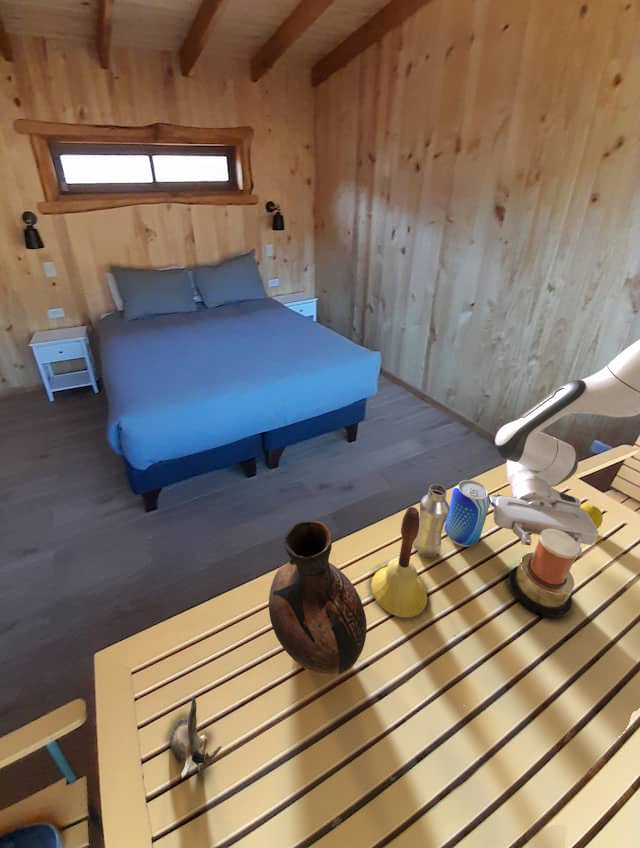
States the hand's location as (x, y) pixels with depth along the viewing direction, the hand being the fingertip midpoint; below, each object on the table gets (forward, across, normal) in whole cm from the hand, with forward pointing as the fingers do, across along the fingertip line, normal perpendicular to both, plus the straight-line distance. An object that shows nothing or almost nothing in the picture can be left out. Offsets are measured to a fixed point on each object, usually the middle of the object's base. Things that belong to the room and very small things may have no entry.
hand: (551, 548), depth 86 cm
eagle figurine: (+48, -62, +12) cm, 79 cm away
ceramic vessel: (+26, -46, +12) cm, 54 cm away
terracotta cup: (+2, 0, +5) cm, 5 cm away
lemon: (-21, +16, +13) cm, 29 cm away
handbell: (+10, -30, +13) cm, 34 cm away
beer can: (-10, -15, +13) cm, 22 cm away
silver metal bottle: (-3, -24, +13) cm, 27 cm away
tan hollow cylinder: (+2, 0, +12) cm, 13 cm away
